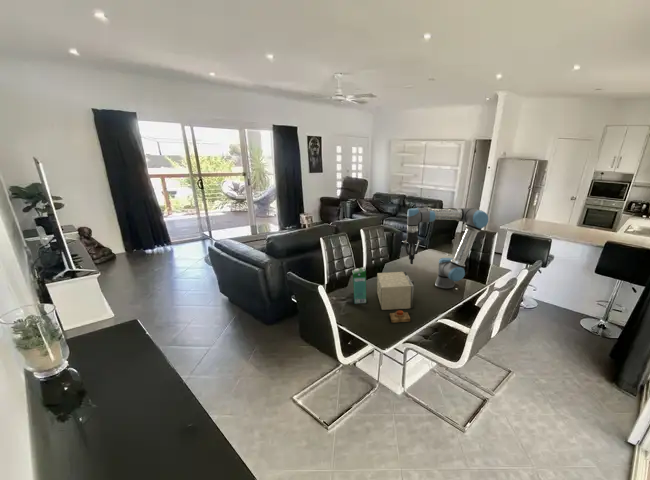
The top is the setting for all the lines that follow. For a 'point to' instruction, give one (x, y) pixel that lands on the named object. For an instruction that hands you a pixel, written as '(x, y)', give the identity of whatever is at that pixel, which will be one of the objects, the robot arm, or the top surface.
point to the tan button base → (399, 317)
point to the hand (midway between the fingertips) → (411, 263)
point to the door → (411, 289)
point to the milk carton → (359, 285)
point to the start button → (399, 312)
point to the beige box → (393, 290)
